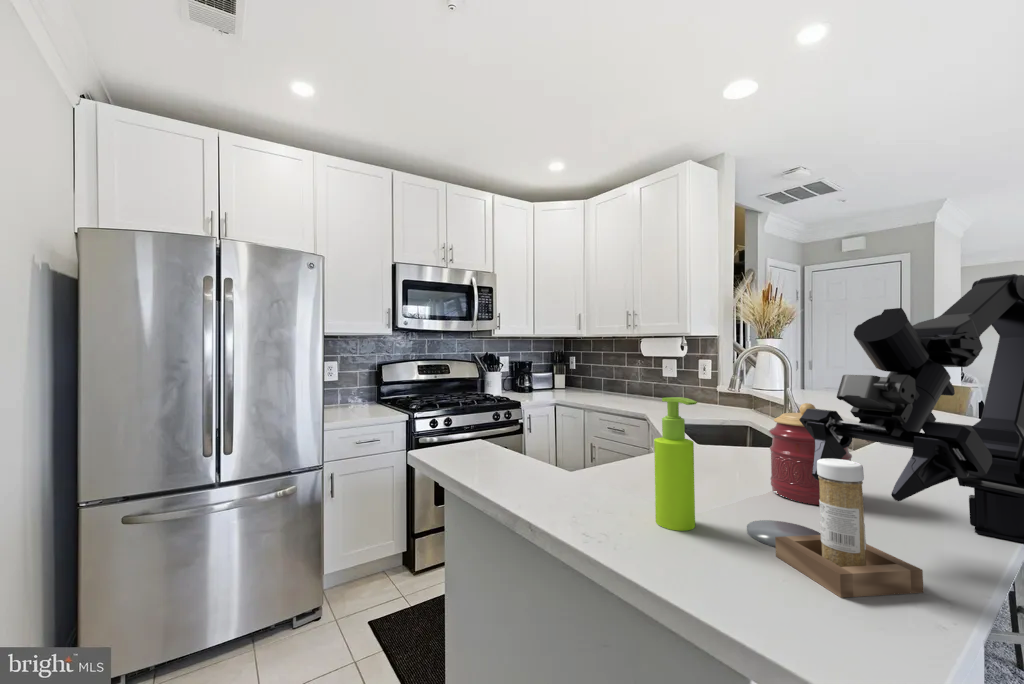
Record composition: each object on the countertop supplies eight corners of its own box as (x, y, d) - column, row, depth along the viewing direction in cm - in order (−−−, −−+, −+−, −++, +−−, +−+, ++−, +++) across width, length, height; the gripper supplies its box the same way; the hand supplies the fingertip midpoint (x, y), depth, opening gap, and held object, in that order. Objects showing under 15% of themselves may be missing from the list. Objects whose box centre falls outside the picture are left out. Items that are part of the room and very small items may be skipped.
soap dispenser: (682, 536, 63) (679, 399, 64) (647, 520, 69) (645, 396, 70) (709, 528, 66) (706, 398, 67) (673, 514, 72) (671, 395, 73)
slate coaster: (835, 537, 63) (835, 533, 63) (817, 559, 56) (817, 554, 56) (759, 519, 70) (759, 515, 70) (736, 536, 63) (736, 532, 63)
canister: (773, 482, 91) (771, 399, 92) (851, 493, 83) (848, 402, 84) (767, 498, 80) (764, 404, 81) (856, 513, 73) (852, 408, 74)
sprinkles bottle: (873, 575, 52) (869, 462, 52) (859, 586, 49) (854, 467, 50) (829, 560, 55) (825, 455, 56) (813, 570, 53) (810, 460, 53)
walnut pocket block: (845, 552, 58) (844, 533, 58) (923, 592, 48) (922, 569, 48) (775, 556, 57) (775, 536, 57) (840, 597, 47) (840, 574, 47)
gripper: (806, 354, 65) (751, 431, 61) (972, 351, 47) (910, 460, 43) (845, 405, 67) (794, 483, 63) (1016, 421, 49) (961, 531, 45)
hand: (851, 487), depth 53 cm, fingers open, 9 cm apart
